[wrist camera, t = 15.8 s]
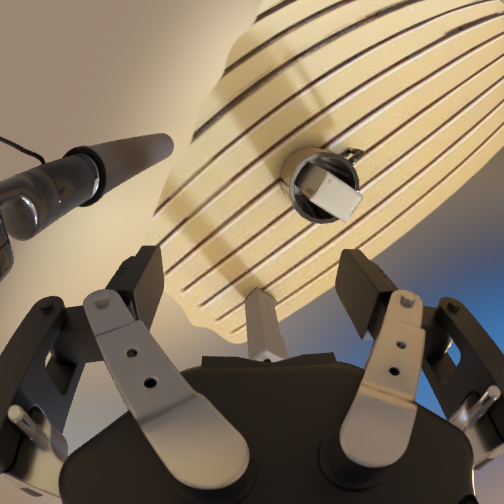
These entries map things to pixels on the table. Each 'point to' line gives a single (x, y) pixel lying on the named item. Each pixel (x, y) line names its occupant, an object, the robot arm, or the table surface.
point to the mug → (326, 161)
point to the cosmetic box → (328, 191)
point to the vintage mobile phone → (263, 328)
